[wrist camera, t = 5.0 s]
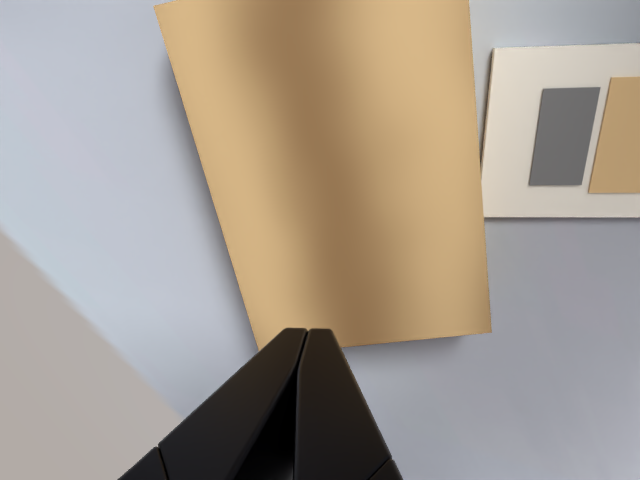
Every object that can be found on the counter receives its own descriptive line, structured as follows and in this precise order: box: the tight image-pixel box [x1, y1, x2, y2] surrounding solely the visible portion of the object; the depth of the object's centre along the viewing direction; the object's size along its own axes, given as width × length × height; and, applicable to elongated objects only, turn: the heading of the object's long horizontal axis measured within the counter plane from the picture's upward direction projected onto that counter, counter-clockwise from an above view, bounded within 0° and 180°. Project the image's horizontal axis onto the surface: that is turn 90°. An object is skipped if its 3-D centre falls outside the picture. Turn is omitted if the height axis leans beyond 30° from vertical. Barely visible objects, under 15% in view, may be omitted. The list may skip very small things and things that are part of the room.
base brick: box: [154, 0, 492, 351], centre depth 18 cm, size 9×13×3 cm
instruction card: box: [481, 43, 640, 217], centre depth 17 cm, size 8×6×1 cm
